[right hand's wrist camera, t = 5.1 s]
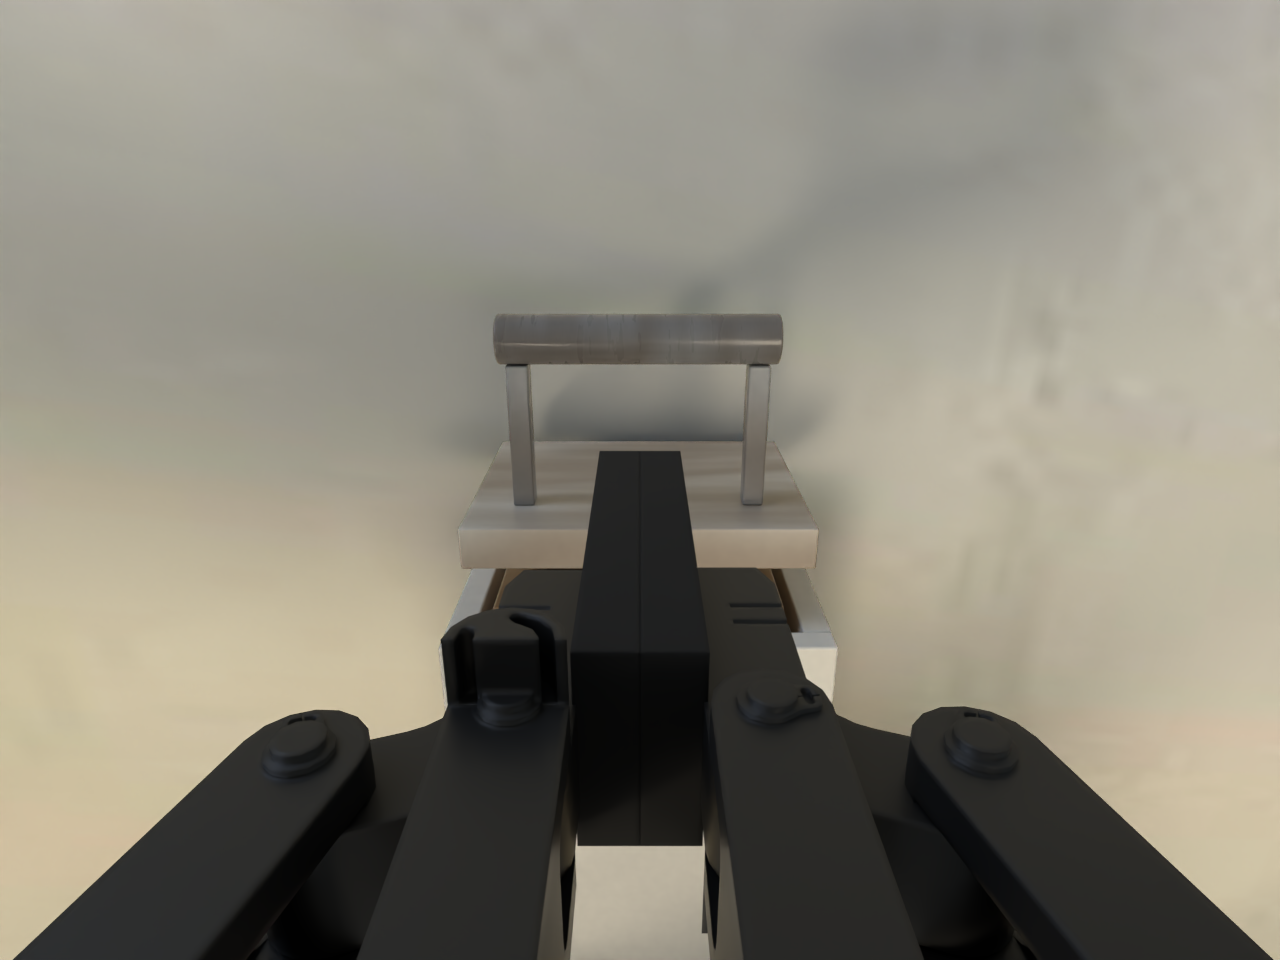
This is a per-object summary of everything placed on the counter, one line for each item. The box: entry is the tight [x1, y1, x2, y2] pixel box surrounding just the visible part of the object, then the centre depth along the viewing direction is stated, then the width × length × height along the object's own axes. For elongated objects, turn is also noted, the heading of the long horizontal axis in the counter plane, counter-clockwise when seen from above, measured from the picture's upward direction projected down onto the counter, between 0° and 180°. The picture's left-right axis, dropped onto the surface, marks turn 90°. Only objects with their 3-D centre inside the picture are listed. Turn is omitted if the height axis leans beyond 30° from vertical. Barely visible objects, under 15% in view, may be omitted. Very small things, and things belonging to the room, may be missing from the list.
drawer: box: [458, 314, 819, 609], centre depth 26 cm, size 23×10×7 cm, turn 0°
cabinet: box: [438, 568, 838, 960], centre depth 29 cm, size 18×11×9 cm, turn 0°
